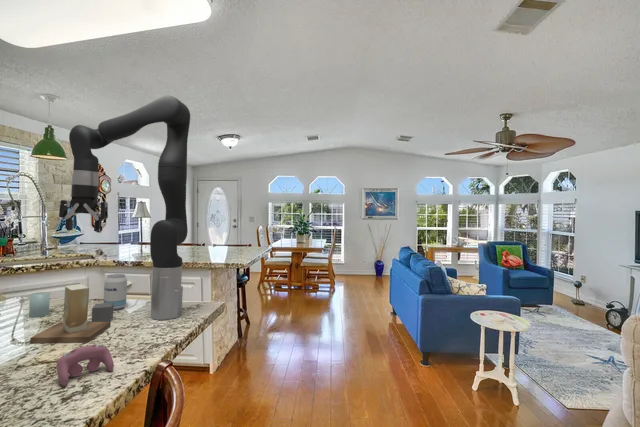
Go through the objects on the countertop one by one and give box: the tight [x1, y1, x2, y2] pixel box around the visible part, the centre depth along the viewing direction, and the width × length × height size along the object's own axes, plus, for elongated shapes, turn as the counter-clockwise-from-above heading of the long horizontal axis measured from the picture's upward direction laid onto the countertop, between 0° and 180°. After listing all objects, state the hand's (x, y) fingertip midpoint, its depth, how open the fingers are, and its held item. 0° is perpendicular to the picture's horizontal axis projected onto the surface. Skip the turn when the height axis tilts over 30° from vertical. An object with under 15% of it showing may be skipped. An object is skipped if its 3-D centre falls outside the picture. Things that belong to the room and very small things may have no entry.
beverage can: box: [103, 273, 128, 311], centre depth 116 cm, size 7×7×12 cm
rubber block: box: [91, 302, 114, 322], centre depth 103 cm, size 5×5×5 cm
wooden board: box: [29, 321, 112, 344], centre depth 91 cm, size 14×12×2 cm
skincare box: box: [62, 283, 90, 333], centre depth 91 cm, size 6×4×12 cm
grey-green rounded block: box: [28, 291, 51, 319], centre depth 106 cm, size 5×5×7 cm
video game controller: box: [56, 344, 115, 387], centre depth 70 cm, size 10×5×7 cm, turn 142°
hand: (83, 230), depth 111 cm, fingers open, 8 cm apart
